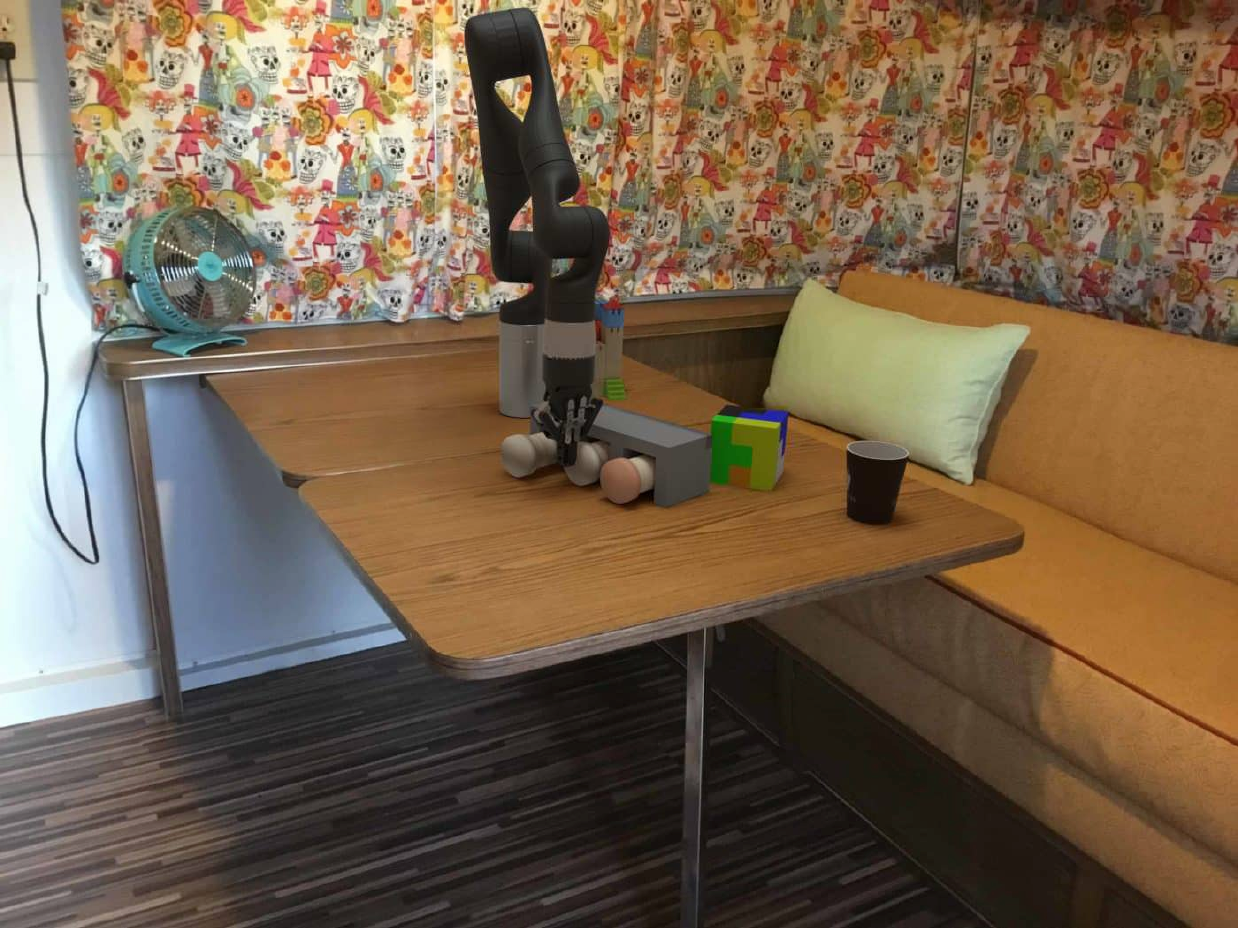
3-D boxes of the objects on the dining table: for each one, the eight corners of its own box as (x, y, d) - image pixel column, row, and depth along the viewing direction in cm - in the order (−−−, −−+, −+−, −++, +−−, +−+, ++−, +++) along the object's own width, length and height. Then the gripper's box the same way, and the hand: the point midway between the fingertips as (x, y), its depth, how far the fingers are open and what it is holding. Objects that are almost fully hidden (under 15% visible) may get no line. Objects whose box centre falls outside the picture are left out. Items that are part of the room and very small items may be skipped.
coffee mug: (889, 532, 141) (898, 463, 138) (830, 518, 145) (837, 451, 142) (914, 508, 151) (923, 443, 147) (857, 495, 155) (865, 432, 152)
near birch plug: (548, 458, 165) (549, 420, 163) (576, 467, 161) (577, 428, 159) (501, 471, 158) (501, 431, 156) (528, 481, 154) (529, 441, 152)
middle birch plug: (608, 465, 163) (609, 427, 161) (638, 475, 159) (640, 436, 157) (562, 479, 156) (563, 439, 154) (592, 490, 152) (593, 449, 150)
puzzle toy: (782, 472, 164) (788, 412, 161) (771, 491, 155) (776, 428, 152) (722, 463, 167) (726, 404, 164) (707, 482, 158) (711, 420, 155)
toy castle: (538, 370, 225) (539, 282, 218) (599, 367, 229) (601, 281, 223) (576, 403, 200) (579, 304, 193) (643, 399, 204) (648, 303, 198)
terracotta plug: (645, 481, 156) (647, 441, 154) (677, 492, 152) (679, 451, 150) (599, 497, 149) (600, 455, 147) (631, 508, 145) (633, 466, 143)
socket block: (573, 446, 173) (575, 395, 170) (708, 491, 154) (712, 434, 151) (529, 459, 166) (530, 405, 163) (665, 507, 147) (669, 447, 144)
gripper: (583, 340, 153) (580, 450, 158) (516, 351, 143) (515, 468, 149) (620, 348, 148) (615, 462, 153) (553, 361, 139) (550, 481, 144)
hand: (566, 465), depth 151 cm, fingers closed
